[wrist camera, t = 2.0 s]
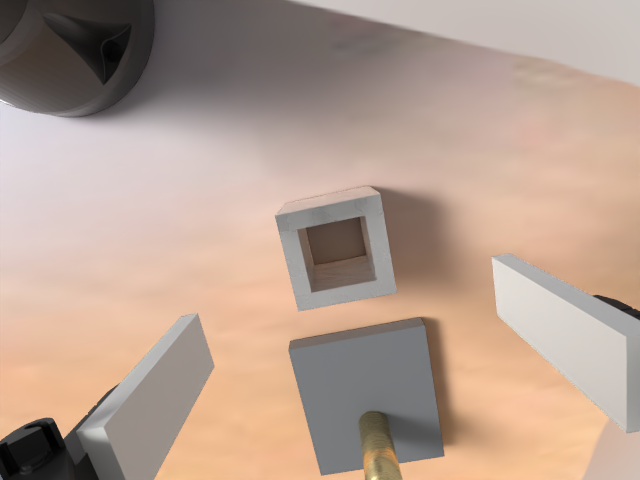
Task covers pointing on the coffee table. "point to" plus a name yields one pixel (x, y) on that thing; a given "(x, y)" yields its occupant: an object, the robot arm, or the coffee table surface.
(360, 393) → the keeper plate
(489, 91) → the coffee table surface
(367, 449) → the pin
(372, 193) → the steel collar
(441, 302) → the coffee table surface
